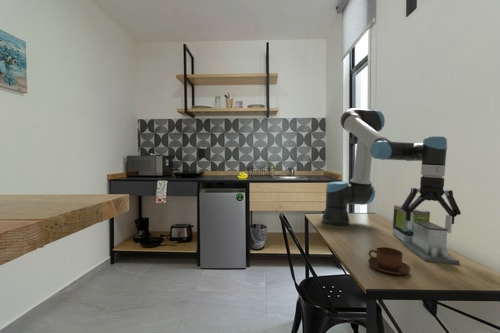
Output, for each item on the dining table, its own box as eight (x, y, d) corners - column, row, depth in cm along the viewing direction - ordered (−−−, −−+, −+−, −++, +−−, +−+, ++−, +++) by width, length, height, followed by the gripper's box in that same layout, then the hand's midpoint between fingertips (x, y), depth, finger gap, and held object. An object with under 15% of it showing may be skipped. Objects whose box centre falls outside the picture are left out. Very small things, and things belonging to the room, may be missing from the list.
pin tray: (402, 244, 111) (403, 234, 111) (430, 246, 109) (431, 236, 109) (425, 261, 92) (425, 249, 92) (459, 264, 90) (460, 252, 90)
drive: (412, 244, 107) (414, 220, 107) (428, 246, 106) (429, 221, 106) (427, 255, 95) (429, 228, 95) (445, 256, 94) (447, 229, 94)
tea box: (429, 245, 111) (430, 211, 110) (403, 243, 113) (405, 209, 112) (414, 235, 125) (415, 205, 125) (391, 233, 127) (393, 204, 127)
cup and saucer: (369, 273, 80) (370, 254, 80) (366, 260, 91) (367, 242, 91) (414, 281, 76) (415, 260, 76) (405, 266, 87) (406, 248, 87)
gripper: (401, 175, 98) (398, 230, 99) (475, 179, 94) (470, 236, 95) (394, 174, 106) (390, 225, 106) (462, 177, 101) (458, 230, 102)
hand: (428, 230), depth 101 cm, fingers open, 13 cm apart
